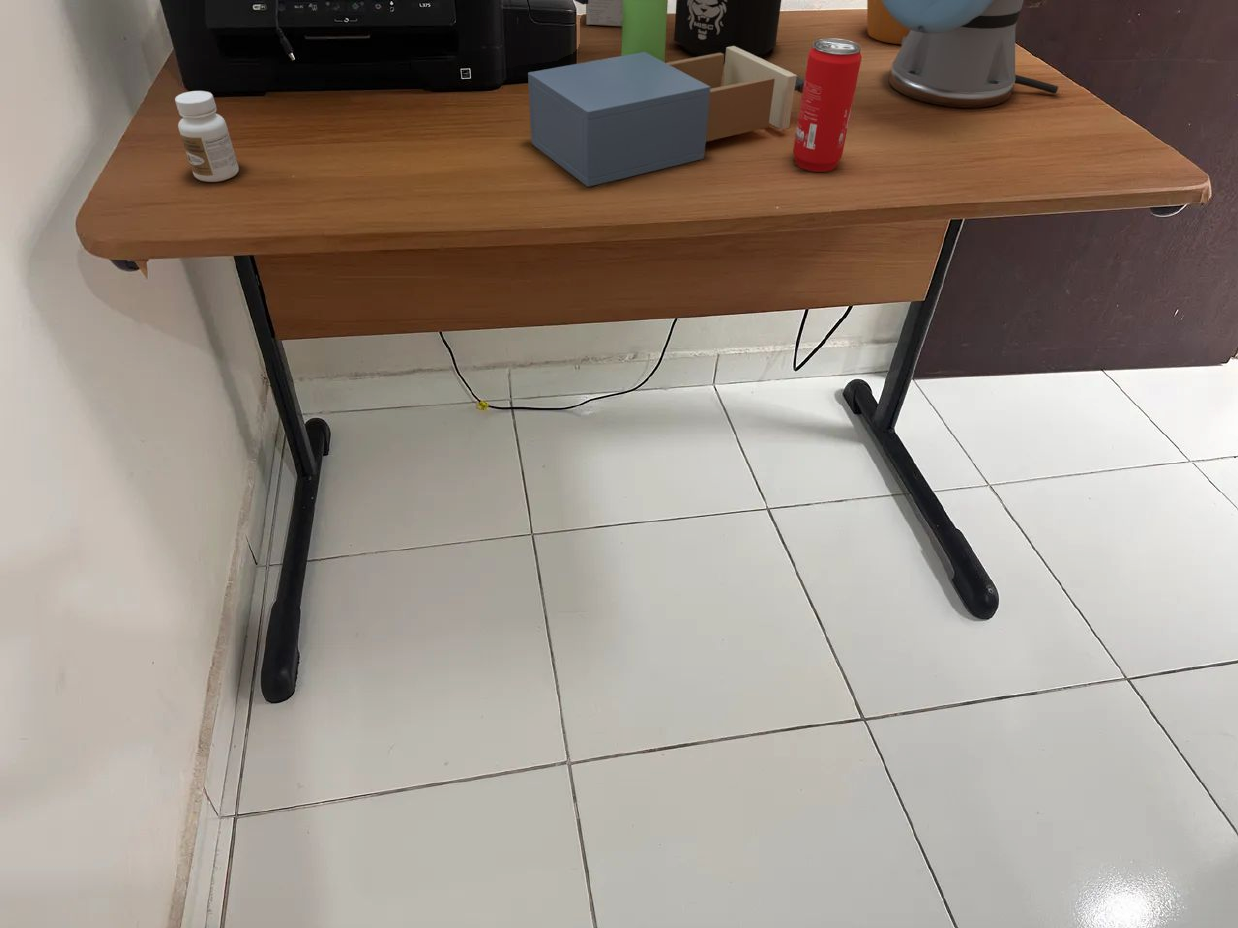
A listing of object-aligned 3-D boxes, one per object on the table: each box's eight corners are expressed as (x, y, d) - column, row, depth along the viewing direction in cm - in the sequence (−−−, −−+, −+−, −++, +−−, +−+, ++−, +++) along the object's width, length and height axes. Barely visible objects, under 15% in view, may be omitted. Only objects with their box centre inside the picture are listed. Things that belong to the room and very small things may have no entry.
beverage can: (792, 152, 96) (810, 36, 88) (839, 156, 95) (862, 39, 87) (790, 171, 92) (810, 52, 84) (840, 176, 91) (864, 56, 83)
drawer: (756, 90, 107) (762, 40, 103) (817, 121, 100) (826, 68, 96) (635, 116, 100) (637, 63, 96) (692, 151, 93) (696, 96, 89)
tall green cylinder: (667, 94, 108) (675, -42, 98) (656, 109, 104) (662, -31, 94) (627, 89, 109) (631, -46, 99) (615, 103, 106) (617, -35, 95)
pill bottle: (186, 174, 89) (160, 96, 83) (225, 161, 91) (203, 85, 86) (207, 187, 86) (182, 108, 81) (247, 174, 89) (226, 97, 84)
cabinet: (642, 120, 102) (644, 51, 97) (704, 159, 94) (710, 86, 89) (531, 144, 96) (527, 72, 91) (587, 187, 88) (587, 112, 83)
